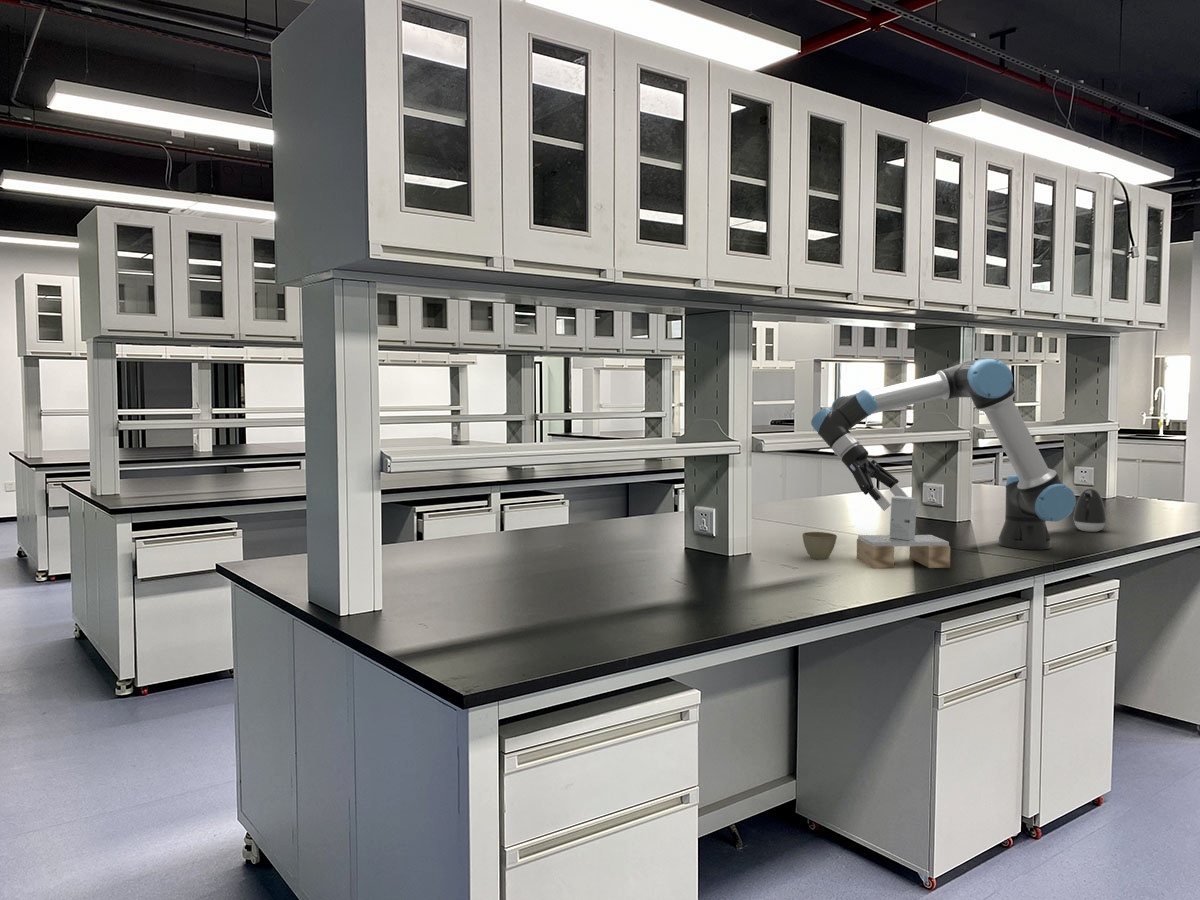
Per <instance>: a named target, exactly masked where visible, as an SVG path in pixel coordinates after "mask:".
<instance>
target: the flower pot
mask: <svg viewBox="0 0 1200 900" xmlns="http://www.w3.org/2000/svg"><path fill="white" fill-rule="evenodd" d="M837 537H838V536H837V534H836V533H831V532H826V531H825V532H824V531H807V532H803V533H802V541H803V545H804V548H805V550H806V552H807V555H808V557H809V558H810V559H813V560H819V561H820V560H823V561H824V560H828V558H829V557H830V556H831V554H832V552H833V550H834V549H835V545H836V542H837Z"/></svg>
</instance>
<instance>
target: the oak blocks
mask: <svg viewBox="0 0 1200 900" xmlns="http://www.w3.org/2000/svg"><path fill="white" fill-rule="evenodd" d="M909 559H911V560H913V561H915V562H916V563H919V564H920V565H922V566H925V567H927V568H929V569H935V568H936V569H938V568H939V569H945V568H946V569H950V568H951V546H950V545H949V546H909ZM856 560H858V561H860V562H862V563H863V564H865V565H867V566H868V567H870V568H872V569H895V546H877V547H872V546H870V545H868V544H866V543H864V542H862V541H860V540H859V539H858V538H856Z"/></svg>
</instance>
